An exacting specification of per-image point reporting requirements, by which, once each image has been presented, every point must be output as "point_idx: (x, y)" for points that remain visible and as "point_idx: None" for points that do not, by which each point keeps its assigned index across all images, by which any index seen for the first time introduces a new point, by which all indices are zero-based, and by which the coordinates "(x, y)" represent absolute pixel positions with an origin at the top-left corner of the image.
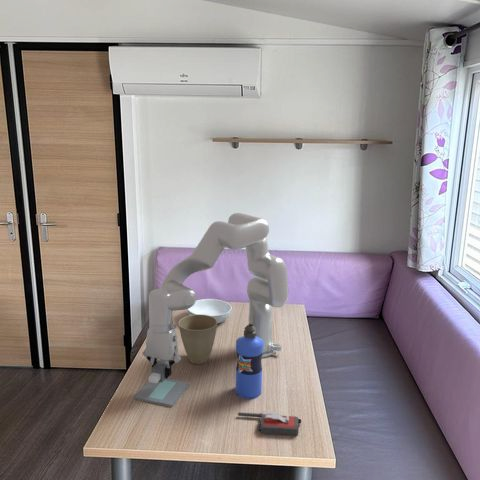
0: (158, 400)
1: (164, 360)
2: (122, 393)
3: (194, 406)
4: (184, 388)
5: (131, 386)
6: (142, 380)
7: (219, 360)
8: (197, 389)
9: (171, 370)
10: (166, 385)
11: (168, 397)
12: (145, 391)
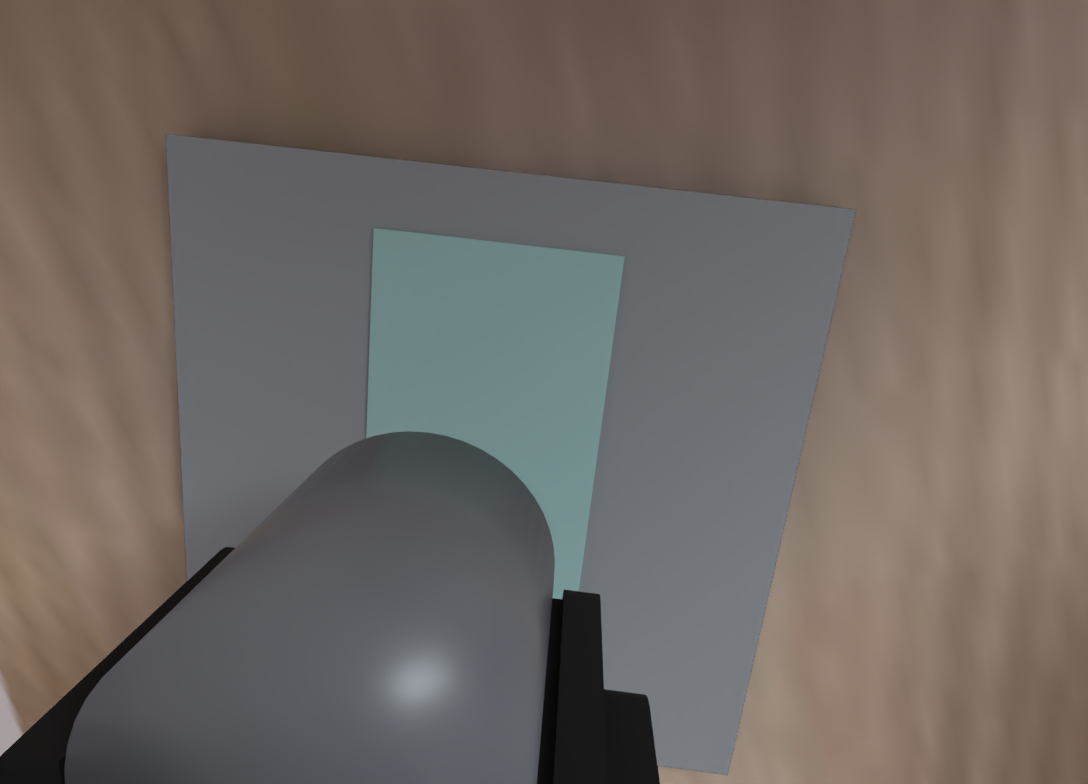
0: None
1: (261, 688)
2: (7, 599)
3: (1003, 695)
4: (805, 395)
5: (12, 435)
6: (62, 252)
7: None
8: (1000, 309)
9: (655, 765)
10: (493, 376)
11: (625, 640)
12: None
